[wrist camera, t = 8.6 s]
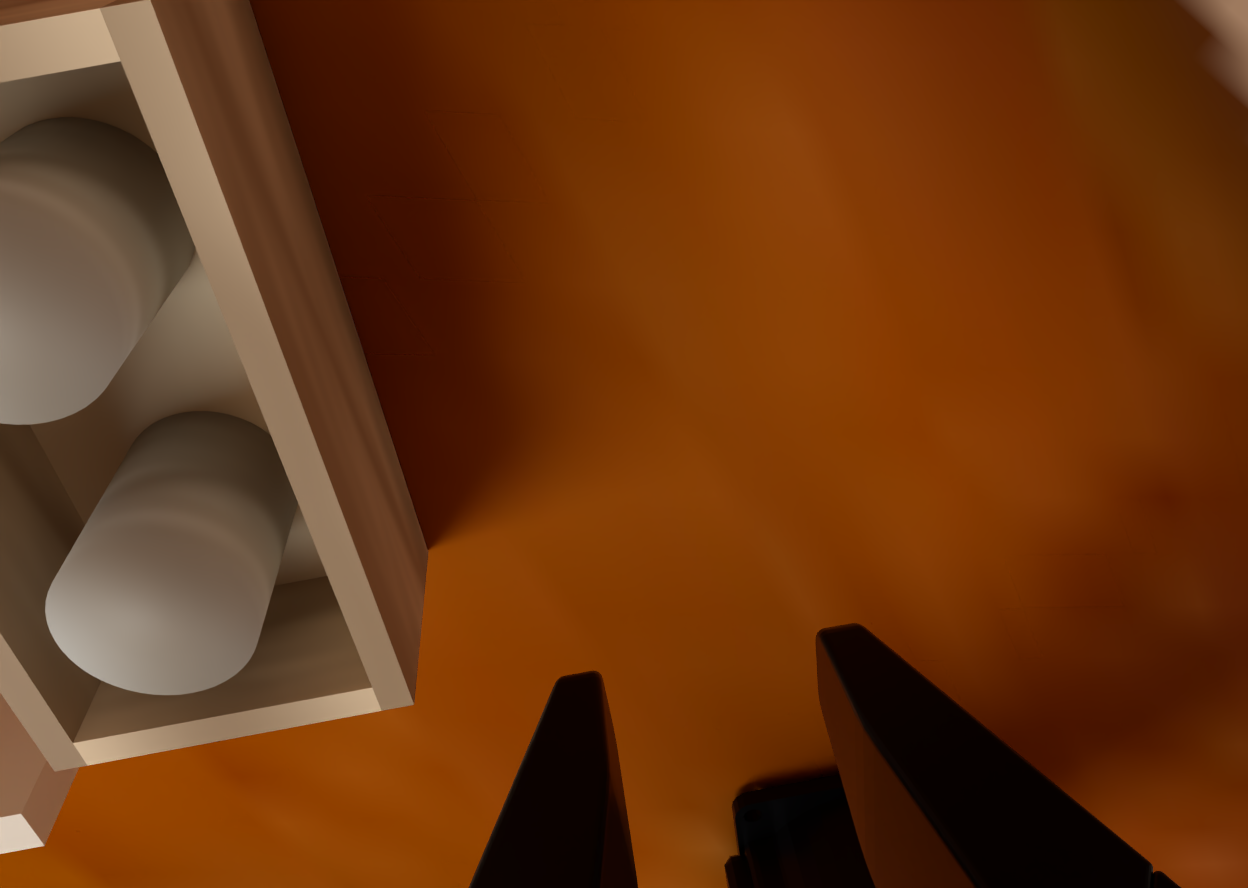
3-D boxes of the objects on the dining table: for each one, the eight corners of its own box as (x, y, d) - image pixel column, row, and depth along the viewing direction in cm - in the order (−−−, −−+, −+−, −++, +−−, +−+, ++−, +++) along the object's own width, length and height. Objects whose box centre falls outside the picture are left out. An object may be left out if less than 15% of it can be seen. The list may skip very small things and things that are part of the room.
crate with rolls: (234, -46, 16) (136, 6, 11) (428, 551, 22) (411, 725, 18) (-188, 30, 16) (-443, 109, 11) (130, 606, 22) (43, 794, 18)
